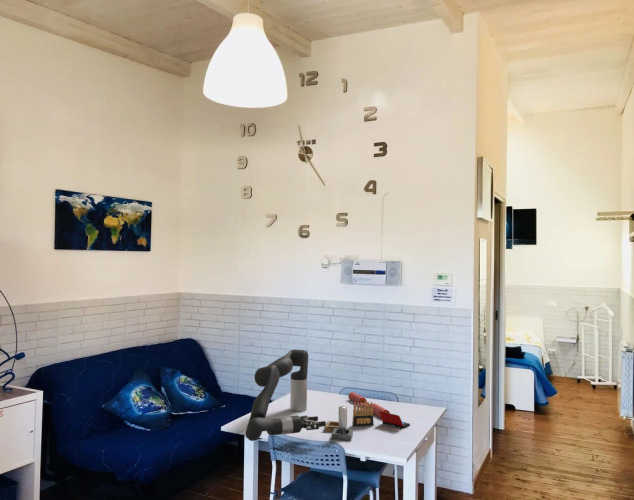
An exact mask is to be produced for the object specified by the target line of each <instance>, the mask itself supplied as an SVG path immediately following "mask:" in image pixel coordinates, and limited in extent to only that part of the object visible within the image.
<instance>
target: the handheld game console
mask: <svg viewBox="0 0 634 500" xmlns="http://www.w3.org/2000/svg"><path fill="white" fill-rule="evenodd" d="M379 414H380V416H381V417H380V419H381V421H382V425H388V426H390V425H393V426H392V427H394V426H395V427H394V428H398V427H399V429H402V430H403V429H405V428H408V427H410V426H411V424H410V423H409V422H405V421H403V420H402V419H401V416H400V415H397V414H395V413H391V412H390V413H386V412H381V411H380V412H379Z"/></svg>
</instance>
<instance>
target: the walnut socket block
mask: <svg viewBox="0 0 634 500" xmlns="http://www.w3.org/2000/svg"><path fill="white" fill-rule="evenodd" d="M334 428H338V421H333V420H327V421H326V426H324V432H329V433H333V430H334Z"/></svg>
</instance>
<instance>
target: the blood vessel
mask: <svg viewBox="0 0 634 500" xmlns="http://www.w3.org/2000/svg"><path fill="white" fill-rule="evenodd" d="M348 399H349V401H351V402H353V403H356V405H357V403H358V402H359V406H360V404H361V402H362V405H363V407H364V402H365V403H366V410H367V403H368V402H369V401H367V399H366V397H364V396H361V395H360V394H358V393H356V392H354V391H350V392H349V394H348ZM370 404H371V402H369V409H370ZM372 404H373V415H376V416H378V417H379V418H381V416H380V414H379V412H380V411H381V412H386V413H390V414H391V412H390V411H389V410H388V409H387V408H384V407H383V406H380V405H379V404H376V403H375V402H372Z"/></svg>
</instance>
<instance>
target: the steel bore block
mask: <svg viewBox="0 0 634 500" xmlns="http://www.w3.org/2000/svg"><path fill="white" fill-rule="evenodd" d="M353 436H354V429H351V428H347V434H340V433H338V428H334V430H333V432H331V440H335V441H352V438H353Z"/></svg>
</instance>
